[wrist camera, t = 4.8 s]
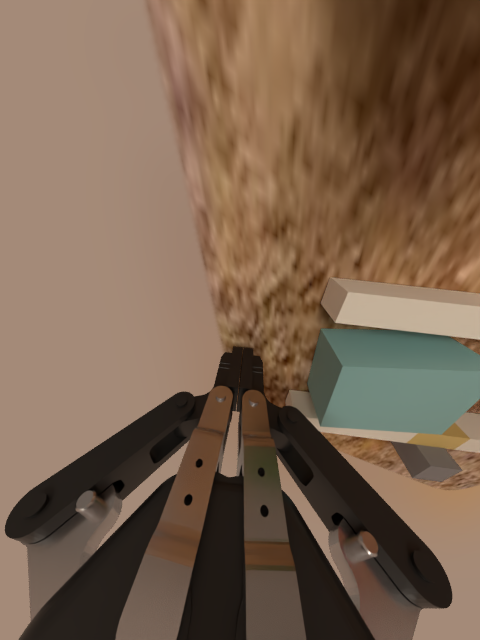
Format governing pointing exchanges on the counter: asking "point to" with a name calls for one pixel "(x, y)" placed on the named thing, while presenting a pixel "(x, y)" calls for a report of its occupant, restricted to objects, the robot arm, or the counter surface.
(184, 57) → the counter surface
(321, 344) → the block
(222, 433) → the robot arm
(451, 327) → the track
